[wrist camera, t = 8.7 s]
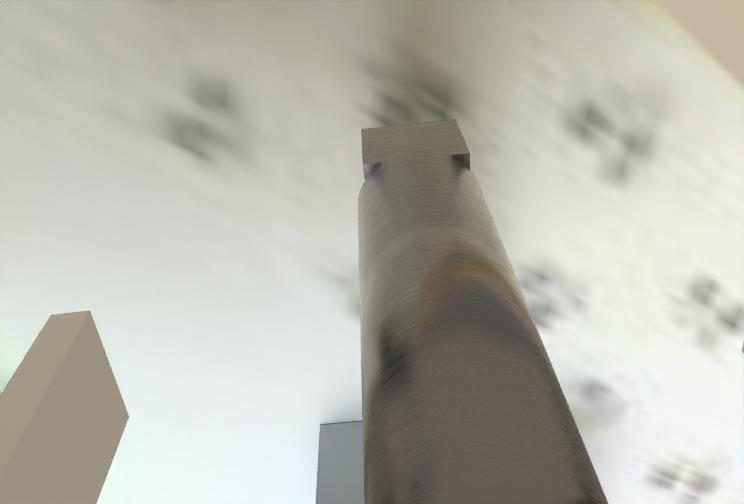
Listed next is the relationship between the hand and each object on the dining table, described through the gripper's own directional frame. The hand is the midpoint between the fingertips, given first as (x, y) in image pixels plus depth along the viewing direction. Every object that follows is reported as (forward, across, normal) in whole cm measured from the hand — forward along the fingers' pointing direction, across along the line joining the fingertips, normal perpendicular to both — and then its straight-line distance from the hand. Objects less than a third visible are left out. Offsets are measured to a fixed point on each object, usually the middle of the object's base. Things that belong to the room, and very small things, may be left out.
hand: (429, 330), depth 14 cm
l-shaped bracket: (+10, +1, -14) cm, 17 cm away
